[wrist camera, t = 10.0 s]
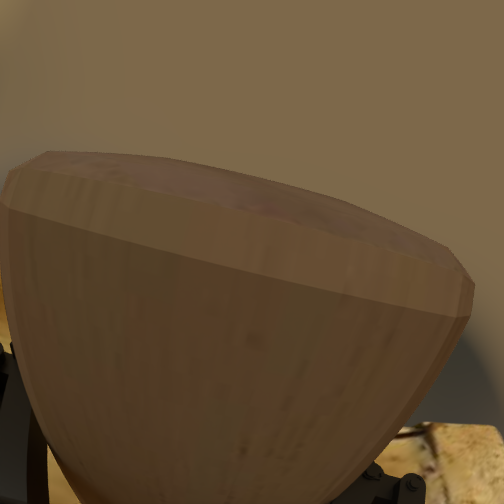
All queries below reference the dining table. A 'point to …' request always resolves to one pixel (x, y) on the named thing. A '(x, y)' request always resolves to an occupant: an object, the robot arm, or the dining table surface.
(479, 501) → the dining table surface
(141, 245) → the block
